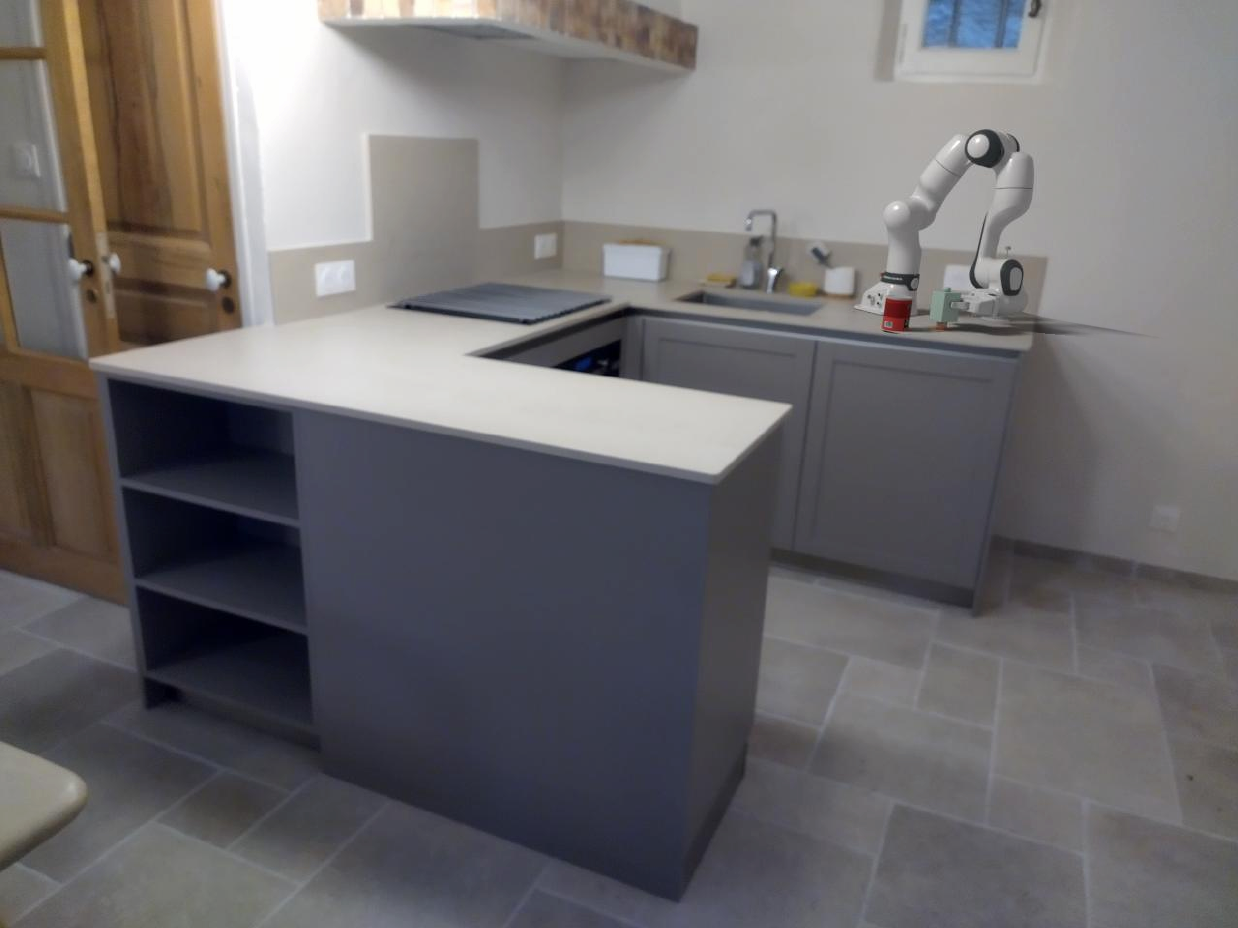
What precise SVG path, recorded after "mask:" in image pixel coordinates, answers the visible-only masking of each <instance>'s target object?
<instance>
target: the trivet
mask: <svg viewBox="0 0 1238 928" xmlns="http://www.w3.org/2000/svg"><path fill="white" fill-rule="evenodd" d="M922 328H923V329H926V330H930V331H933V332H937V333H951V332H953V333H955V332H958V333H961V332H963V331H962V330H958V329H955V328H952V327H948V326H947V328H946V330H939V329H936V325H935V326H934V325H933V326H927V325H926V326H922Z"/></svg>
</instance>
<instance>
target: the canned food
mask: <svg viewBox="0 0 1238 928" xmlns="http://www.w3.org/2000/svg"><path fill="white" fill-rule="evenodd" d="M912 301H913V297H910V296H905V295H887V296H886V300H885V308H884V315H882V316H883V317H882V324H881V329H882V330H881V331H882V332H884V333H887V334H888V333H889V334H895V335H897V334H898V335H900V333H902V332H908V331H909V327H910V320H911V316H910V315H911V308H912ZM898 332H900V333H898Z"/></svg>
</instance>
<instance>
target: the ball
mask: <svg viewBox="0 0 1238 928" xmlns="http://www.w3.org/2000/svg"><path fill="white" fill-rule="evenodd" d="M935 326H936V329H939V330H946V328H947V327H948V322H938V321H936V322H935Z"/></svg>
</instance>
